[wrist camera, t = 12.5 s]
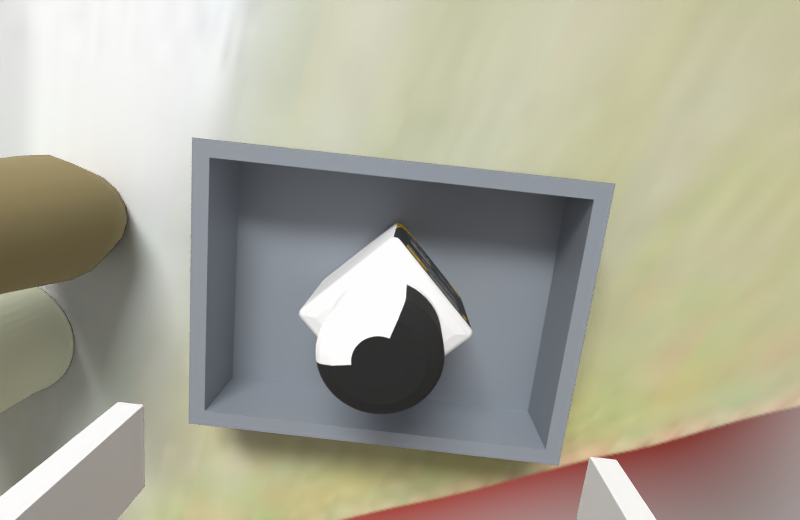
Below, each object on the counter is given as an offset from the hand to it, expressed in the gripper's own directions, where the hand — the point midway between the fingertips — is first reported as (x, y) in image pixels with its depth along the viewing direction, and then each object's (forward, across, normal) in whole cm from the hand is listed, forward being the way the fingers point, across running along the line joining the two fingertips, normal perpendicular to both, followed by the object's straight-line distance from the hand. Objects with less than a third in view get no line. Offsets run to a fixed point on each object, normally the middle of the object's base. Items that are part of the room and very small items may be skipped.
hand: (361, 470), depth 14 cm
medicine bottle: (+20, 0, 0) cm, 20 cm away
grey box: (+20, 0, 0) cm, 20 cm away
